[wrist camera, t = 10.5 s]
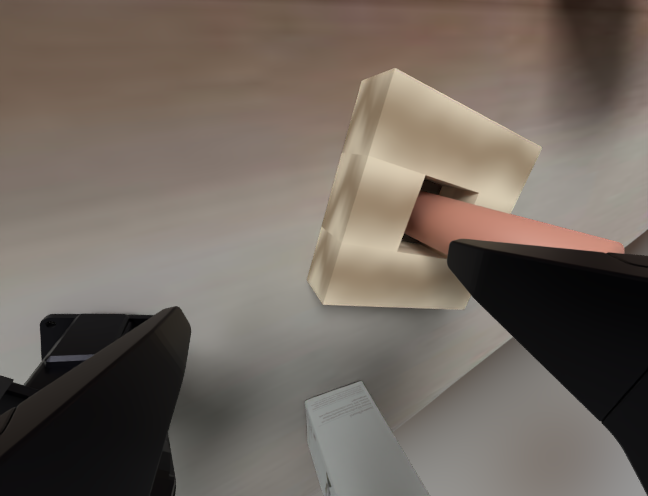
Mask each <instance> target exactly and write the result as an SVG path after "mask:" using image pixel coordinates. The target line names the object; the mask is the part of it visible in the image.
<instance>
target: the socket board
mask: <svg viewBox="0 0 648 496" xmlns="http://www.w3.org/2000/svg"><path fill="white" fill-rule="evenodd" d="M541 150H542V147H540V146H539V145H537V144H535V143H533V142H531V141H529V140H527V139H526V138H524V137H522V136H520V135H518V134H516V133H514V132H513V131H511V130H509V129H507V128H505V127H503V126H501V125H500V124H498V123H496V122H494V121H492V120H490V119H489V118H487V117H485V116H483V115H481V114H479V113H477V112H476V111H474V110H472V109H470V108H468V107H466V106H464V105H463V104H461V103H459V102H457V101H455V100H453V99H452V98H450V97H448V96H446V95H444V94H442V93H440V92H439V91H437V90H435V89H433V88H431V87H429V86H427V85H426V84H424V83H422V82H420V81H418V80H416V79H414V78H413V77H411V76H409V75H407V74H405V73H403V72H402V71H400V70H398V69H396V68H394V69H391V70H389V71H386V72H383V73H381V74H378V75H376V76H373V77H370V78H368V79H365V80H362V82H361V86H360V89H359V93H358V96H357V100H356V104H355V107H354V111H353V115H352V118H351V122H350V125H349V129H348V133H347V136H346V140H345V144H344V147H343V151H342V154H341V158H340V162H339V165H338V169H337V173H336V176H335V180H334V183H333V187H332V191H331V194H330V198H329V202H328V205H327V209H326V212H325V216H324V220H323V223H322V227H321V231H320V234H319V238H318V241H317V245H316V249H315V252H314V256H313V260H312V263H311V267H310V270H309V274H308V278H307V281H308V282H309V284H310V285H311V287H312V289H313V290H314V292H315V293H316V295H317V296H318V298H319V299H320V301H321V302H322V304H323V305H344V306H372V307H400V308H427V309H455V310H464V309H465V307H466V305H467V303H468V301H469V299H470V297H471V294H470V293H469V292H468V291H467V290H466V288H465V287H464V286H463V285H462V284H461V282H460V281H459V280H458V279H457V277H456V276H455V275H454V274H453V273H452V271H451V270H450V269H449V267H448V265H447V256H448V255H446V254H444V253H442V252H440V251H438V250H436V249H434V248H432V247H430V246H428V245H426V244H424V243H422V242H420V243H419V244H417V243H411V242H406V241H401V240H402V237H403V234H404V232H405V229H406V226H407V224H408V221H409V218H410V216H411V213H412V210H413V208H414V205H415V202H416V199H417V197H418V194H419V191H420V189H421V186H422V183H423V181H424V179H425V180H428V181H431V182H434V183H437V184H440V185H442V188H441V190H440V193H439V195H440V196H443V197H447V198H451V199H455V200H459V201H463V202H466V203H470V204H474V205H478V206H482V207H485V208H489V209H493V210H497V211H501V212H505V213H508V214H511V212H512V210H513V208H514V205H515V203H516V201H517V199H518V197H519V195H520V193H521V191H522V189H523V187H524V185H525V183H526V181H527V179H528V176H529V174H530V172H531V170H532V168H533V166H534V164H535V162H536V160H537V158H538V156H539V154H540V152H541Z"/></svg>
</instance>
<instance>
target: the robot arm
mask: <svg viewBox="0 0 648 496" xmlns="http://www.w3.org/2000/svg"><path fill="white" fill-rule="evenodd" d="M447 265H448V267H449V269H450V270H451V271H452V273H453V274H454V275H455V276H456V277H457V279H458V280H459V281H460V282H461V284H462V285H463V286H464V287H465V288H466V290H467V291H468V292H469V293H470V294H471V295H472V297H473V298H474V299H475V300H476V301H477V302H478V303H479V304H480V305H481V306H482V307H483V308H484V309H485V310H486V311H487V312H488V313H489V314H490V315H491V316H492V317H494V318H495V319H496V320H497V321H498V322H499V323H500V324H501V325H502V326H503V327H504V328H505V329H506V330H507V331H508V332H509V333H510V334H511V335H512V336H513V337H514V338H515V339H516V340H517V341H518V342H519V343H520V344H521V345H522V346H523V347H524V348H525V349H526V350H527V351H528V352H529V353H530V354H531V355H532V356H533V357H535V358H536V359H537V360H538V361H539V362H540V363H541V364H542V365H543V366H544V367H545V368H546V369H547V370H548V371H549V372H550V373H551V374H552V375H553V376H554V377H555V378H556V379H557V380H558V381H559V382H560V383H561V384H562V385H563V386H564V387H565V388H566V389H567V390H568V391H569V392H570V393H571V394H572V395H573V396H574V397H575V398H576V399H577V400H578V401H579V402H581V403H582V404H583V405H584V406H585V407H586V408H587V409H588V410H589V411H590V412H591V413H592V414H593V415H594V416H595V417H596V418H597V419H598V420H599V421H602V424H603V425H604V426H605V427H606V428H607V429H608V430H609V431H610V433H612V435H613V436H614V437H615V439H616V440H617V441H618V443H619V444H620V445H621V447H622V449H623V450H624V452H625V454H626V456H627V458H628V460H629V461H630V463H631V465H632V467H633V469H634V471H635V473H636V475H637V477H638V479H639V480H640V482H641V484H642V486H643V488H644V490H645V492H646V494H647V496H648V256H644V255H633V254H622V253H612V252H607V253H604V252H597V251H586V250H576V249H566V248H555V247H545V246H535V245H524V244H514V243H504V242H493V241H483V240H473V239H457V240H453V241H451V242H450V244H449V249H448V256H447ZM49 321H53V322H55V323H56V324H51V323H50V322H49ZM40 335H41V355H42V362H41V363H40V364H39V366H38V367H37V368H36V369H35V371H34V372H33V373H32V375H31V376H30V377H29V379H28V380H27V381H26V382H25V384H24V385H20V384H17V383H14V382H13V379H10V378H7V377H4V376H1V375H0V496H175V491H176V479H175V473H174V467H173V461H172V455H171V449H170V443H169V437H168V430H169V426H170V423H171V419H172V416H173V412H174V409H175V405H176V402H177V398H178V395H179V391H180V388H181V384H182V381H183V377H184V373H185V368H186V362H187V355H188V349H189V343H190V337H191V327H190V324H189V322H188V320H187V319H186V317H185V315H184V314H183V312H182V310H181V309H180V308H179V307H177V306H175V307H170V308H166V309H163V310H162V311H160V312H159V313H157V314H156V315H125V314H50V315H48V316H46V317H45V318H44V319H43V320H42V321H41V323H40Z"/></svg>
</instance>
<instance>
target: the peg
mask: <svg viewBox="0 0 648 496" xmlns="http://www.w3.org/2000/svg"><path fill="white" fill-rule="evenodd" d="M404 233H405V234H407V235H409V236H410V237H412V238H414V239H416V240H418V241H420V242H422V243H424V244H426V245H428V246H430V247H432V248H434V249H436V250H438V251H440V252H442V253H444V254H446V255H448V249H449V244H450V242H451V241H453V240H457V239H473V240H483V241H493V242H504V243H514V244H524V245H535V246H545V247H555V248H566V249H576V250H586V251H597V252H604V253H607V252H612V253H622V254H624V247H623V245H622V244H621V243H619V242H615V241H611V240H608V239H604V238H600V237H596V236H592V235H589V234H585V233H581V232H577V231H573V230H569V229H566V228H562V227H558V226H554V225H550V224H547V223H543V222H539V221H535V220H531V219H527V218H524V217H520V216H516V215H512V214H508V213H505V212H501V211H497V210H493V209H489V208H485V207H482V206H478V205H474V204H470V203H466V202H463V201H459V200H455V199H451V198H447V197H443V196H440V195H436V194H432V193H428V192H424V191H421V190H420V191H419V194H418V197H417V199H416V202H415V205H414V208H413V210H412V213H411V216H410V218H409V221H408V224H407V226H406V229H405V232H404Z"/></svg>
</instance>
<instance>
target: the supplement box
mask: <svg viewBox="0 0 648 496" xmlns="http://www.w3.org/2000/svg"><path fill="white" fill-rule="evenodd" d="M305 408H306V417H307V443H308V446H309V449H310V453H311V456H312V459H313V463H314V466H315V470H316V473H317V476H318V480H319V483H320V487H321V490H322V493H323V496H430V495H429V493H428V491H427V490H426V488H425V486H424V485H423V483H422V481H421V480H420V478H419V476H418V475H417V473H416V471H415V470H414V468H413V466H412V464H411V463H410V461H409V460H408V458H407V456H406V454H405V453H404V451H403V450H402V448H401V446H400V444H399V443H398V441H397V439H396V438H395V436H394V434H393V433H392V431H391V429H390V428H389V426H388V424H387V423H386V421H385V419H384V417H383V416H382V414H381V412H380V411H379V409H378V407H377V406H376V404H375V402H374V401H373V399H372V397H371V396H370V394H369V392H368V391H367V389H366V387H365V386H364V384H363V382H362V381H359V382H356V383H353V384H350V385H347V386H345V387H342V388H339V389H336V390H333V391H330V392H327V393H325V394H322V395H319V396H316V397H313V398H311V399H308V400H306V401H305Z"/></svg>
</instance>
